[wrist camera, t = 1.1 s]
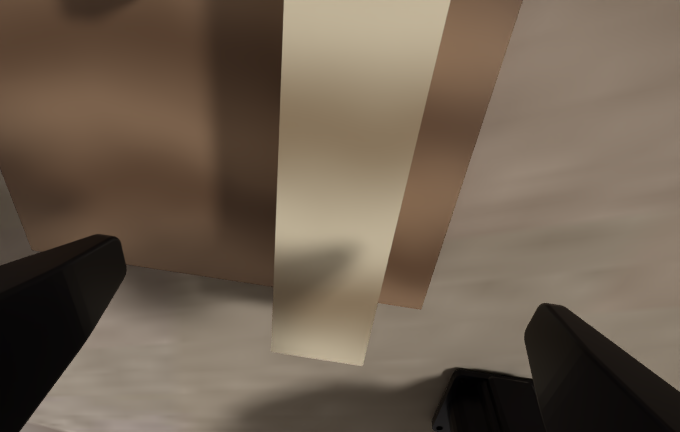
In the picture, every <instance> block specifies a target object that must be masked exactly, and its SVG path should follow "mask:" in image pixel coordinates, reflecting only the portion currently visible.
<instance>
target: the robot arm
mask: <svg viewBox="0 0 680 432" xmlns="http://www.w3.org/2000/svg"><path fill="white" fill-rule="evenodd" d="M125 275H126V262H125V258H124V254H123V249H122V245H121V241H120V240H119V238H117V237H115V236H110V235H104V234H94V235H91V236H88V237H85V238H82V239H79V240H76V241H73V242H70V243H67V244H64V245H61V246H58V247H55V248H52V249H49V250H46V251H43V252H40V253H37V254H34V255H31V256H28V257H25V258H22V259H19V260H16V261H13V262H10V263H7V264H4V265H1V266H0V432H19V431H20V430H21V429H22V427H23V426H24V425H25V424H26V422H27V421H28V420H29V418H30V417H31V415H32V414H33V413H34V411H35V410H36V409H37V407H38V406H39V405H40V403H41V402H42V401H43V399H44V398H45V397H46V395H47V394H48V393H49V391H50V390H51V388H52V387H53V386H54V384H55V383H56V382H57V380H58V379H59V378H60V376H61V375H62V374H63V372H64V371H65V370H66V368H67V367H68V365H69V364H70V363H71V361H72V360H73V359H74V357H75V356H76V355H77V353H78V352H79V351H80V349H81V348H82V346H83V345H84V343H85V342H86V341H87V339H88V337H89V336H90V334H91V333H92V331H93V330H94V328H95V326H96V325H97V323H98V321H99V320H100V318H101V316H102V315H103V313H104V311H105V310H106V308H107V306H108V304H109V303H110V301H111V299H112V298H113V296H114V294H115V293H116V291H117V289H118V288H119V286H120V284H121V283H122V281H123V279H124V277H125ZM524 340H525V345H526V350H527V355H528V359H529V364H530V368H531V373H532V378H533V381H532V380H526V379H519V378H513V377H506V376H500V375H494V374H487V373H481V372H474V371H468V370H457V371H455V372H454V373H453V375H452V377H451V380H450V382H449V384H448V386H447V389H446V391H445V393H444V395H443V398H442V400H441V402H440V404H439V406H438V409H437V411H436V413H435V415H434V418H433V420H432V429H433V430H434V431H436V432H680V392H679V391H678V390H676V389H675V388H674V387H672V386H671V385H670V384H668V383H667V382H666V381H664V380H663V379H662V378H660V377H659V376H658V375H656V374H655V373H654V372H652V371H651V370H649V369H648V368H647V367H645V366H644V365H643V364H641V363H640V362H639V361H637V360H636V359H635V358H633V357H632V356H631V355H629V354H628V353H627V352H625V351H624V350H623V349H621V348H620V347H618V346H617V345H616V344H614V343H613V342H612V341H610V340H609V339H608V338H606V337H605V336H604V335H602V334H601V333H600V332H598V331H597V330H596V329H594V328H593V327H592V326H590V325H589V324H587V323H586V322H585V321H583V320H582V319H581V318H579V317H578V316H577V315H575V314H574V313H573V312H571V311H570V310H569V309H567V308H566V307H564V306H561V305H556V304H549V303H543V304H541V305H539V307H538V308H537V310H536V312H535V313H534V315H533V317H532V319H531V321H530V322H529V324H528V326H527V328H526V330H525V335H524Z"/></svg>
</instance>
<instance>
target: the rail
mask: <svg viewBox="0 0 680 432" xmlns="http://www.w3.org/2000/svg"><path fill="white" fill-rule="evenodd" d="M450 1H451V0H284V14H283V41H282V68H281V95H280V123H279V150H278V177H277V204H276V232H275V259H274V286H273V314H272V341H271V352H275V353H281V354H288V355H294V356H300V357H307V358H313V359H320V360H326V361H333V362H339V363H346V364H352V365H358V366H363V362H364V358H365V354H366V350H367V346H368V342H369V338H370V333H371V329H372V325H373V321H374V317H375V313H376V308H377V304H378V300H379V296H380V292H381V288H382V283H383V279H384V275H385V271H386V267H387V263H388V258H389V254H390V250H391V246H392V242H393V238H394V234H395V229H396V225H397V221H398V217H399V213H400V209H401V204H402V200H403V196H404V192H405V188H406V184H407V179H408V175H409V171H410V167H411V163H412V159H413V155H414V150H415V146H416V142H417V138H418V134H419V130H420V125H421V121H422V117H423V113H424V109H425V105H426V100H427V96H428V92H429V88H430V84H431V80H432V75H433V71H434V67H435V63H436V59H437V55H438V51H439V46H440V42H441V38H442V34H443V30H444V26H445V21H446V17H447V13H448V9H449V5H450Z"/></svg>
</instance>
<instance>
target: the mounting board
mask: <svg viewBox="0 0 680 432" xmlns="http://www.w3.org/2000/svg"><path fill="white" fill-rule="evenodd" d="M522 1H523V0H451V1H450V5H449V9H448V13H447V17H446V21H445V26H444V30H443V34H442V38H441V42H440V46H439V51H438V55H437V59H436V63H435V67H434V71H433V75H432V80H431V84H430V88H429V92H428V96H427V100H426V105H425V109H424V113H423V117H422V121H421V125H420V130H419V134H418V138H417V142H416V146H415V150H414V155H413V159H412V163H411V167H410V171H409V175H408V179H407V184H406V188H405V192H404V196H403V200H402V204H401V209H400V213H399V217H398V221H397V225H396V229H395V234H394V238H393V242H392V246H391V250H390V254H389V258H388V263H387V267H386V271H385V275H384V279H383V283H382V288H381V292H380V296H379V300H378V303H382V304H388V305H395V306H401V307H408V308H414V309H421V308H422V305H423V302H424V299H425V296H426V293H427V290H428V287H429V284H430V281H431V278H432V275H433V272H434V269H435V266H436V263H437V260H438V256H439V253H440V250H441V247H442V244H443V241H444V238H445V235H446V232H447V229H448V226H449V223H450V220H451V217H452V214H453V211H454V208H455V205H456V202H457V199H458V196H459V193H460V190H461V186H462V183H463V180H464V177H465V174H466V171H467V168H468V165H469V162H470V159H471V156H472V153H473V150H474V147H475V144H476V141H477V138H478V135H479V132H480V129H481V126H482V123H483V120H484V116H485V113H486V110H487V107H488V104H489V101H490V98H491V95H492V92H493V89H494V86H495V83H496V80H497V77H498V74H499V71H500V68H501V65H502V62H503V59H504V56H505V53H506V50H507V47H508V43H509V40H510V37H511V34H512V31H513V28H514V25H515V22H516V19H517V16H518V13H519V10H520V7H521V4H522ZM283 14H284V0H0V169H1V172H2V174H3V177H4V180H5V182H6V185H7V187H8V190H9V192H10V195H11V197H12V200H13V203H14V205H15V208H16V210H17V213H18V215H19V218H20V220H21V223H22V226H23V228H24V231H25V233H26V236H27V238H28V241H29V243H30V246H31V249H32V250H35V251H42V252H43V251H46V250H49V249H52V248H55V247H58V246H61V245H64V244H67V243H70V242H73V241H76V240H79V239H82V238H85V237H88V236H91V235H94V234H104V235H110V236H115V237H117V238H119V240H120V241H121V245H122V249H123V254H124V258H125V262H126V264H127V265H133V266H140V267H146V268H153V269H159V270H166V271H172V272H179V273H186V274H192V275H199V276H205V277H212V278H218V279H225V280H231V281H238V282H244V283H251V284H257V285H264V286H271V287H273V286H274V259H275V232H276V204H277V177H278V150H279V123H280V95H281V68H282V41H283Z"/></svg>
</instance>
